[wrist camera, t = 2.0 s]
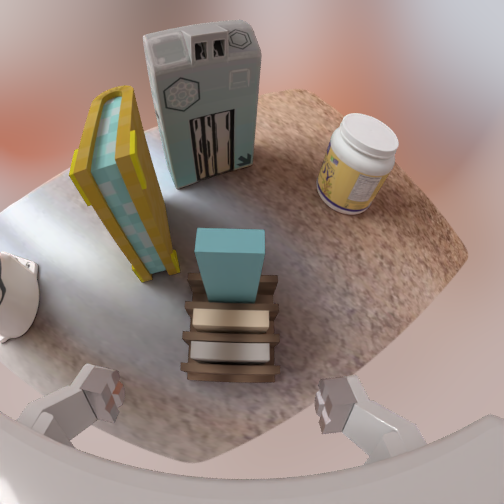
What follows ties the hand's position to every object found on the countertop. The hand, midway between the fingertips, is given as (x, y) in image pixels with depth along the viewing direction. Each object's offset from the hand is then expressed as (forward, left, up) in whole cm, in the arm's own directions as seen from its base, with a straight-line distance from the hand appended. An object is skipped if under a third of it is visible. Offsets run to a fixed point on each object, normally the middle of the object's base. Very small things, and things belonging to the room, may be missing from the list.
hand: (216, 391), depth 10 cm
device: (-20, +37, -29) cm, 51 cm away
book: (-22, +18, -29) cm, 41 cm away
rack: (-3, +8, -29) cm, 30 cm away
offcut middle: (-3, +8, -27) cm, 29 cm away
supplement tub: (+8, +41, -29) cm, 51 cm away
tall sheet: (-4, +12, -27) cm, 30 cm away
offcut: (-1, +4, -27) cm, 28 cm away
